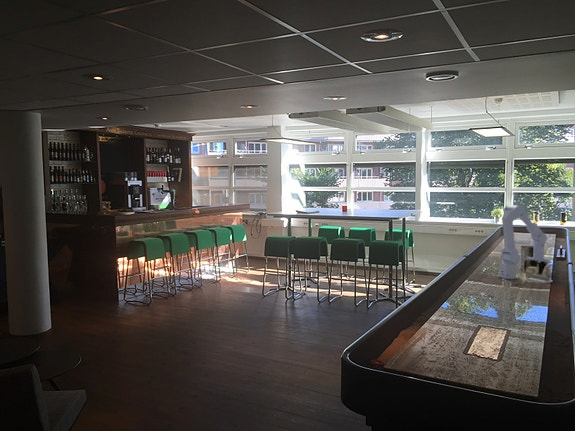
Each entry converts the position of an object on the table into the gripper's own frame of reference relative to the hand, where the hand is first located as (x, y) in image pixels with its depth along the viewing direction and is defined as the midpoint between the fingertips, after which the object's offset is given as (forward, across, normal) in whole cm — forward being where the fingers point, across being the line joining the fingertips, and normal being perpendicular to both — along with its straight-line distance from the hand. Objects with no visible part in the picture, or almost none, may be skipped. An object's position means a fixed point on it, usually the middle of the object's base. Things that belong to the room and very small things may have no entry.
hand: (537, 273), depth 280 cm
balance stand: (+2, -9, +11) cm, 14 cm away
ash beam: (+2, 0, 0) cm, 2 cm away
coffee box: (+2, +15, -13) cm, 20 cm away
